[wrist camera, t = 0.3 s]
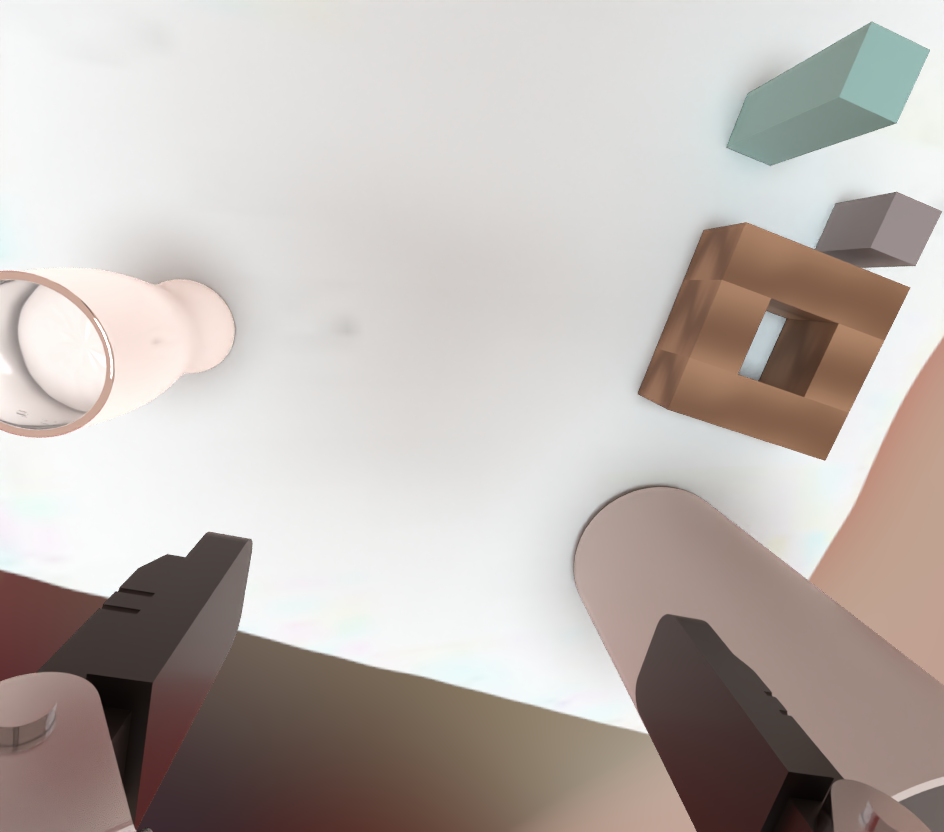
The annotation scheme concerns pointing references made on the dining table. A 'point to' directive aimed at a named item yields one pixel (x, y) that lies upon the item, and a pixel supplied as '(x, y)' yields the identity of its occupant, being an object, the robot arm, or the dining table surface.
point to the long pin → (830, 96)
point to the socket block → (797, 349)
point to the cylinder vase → (766, 637)
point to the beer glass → (99, 344)
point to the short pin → (878, 231)
